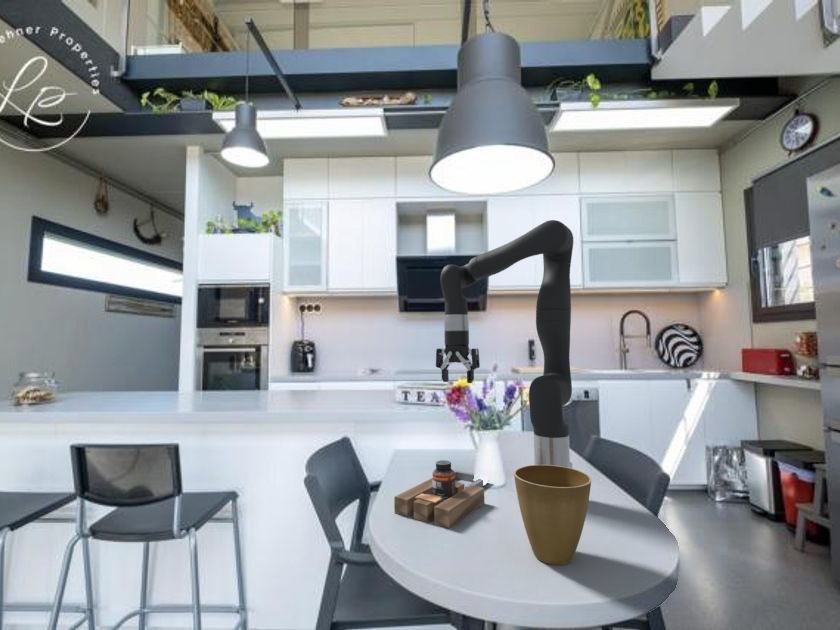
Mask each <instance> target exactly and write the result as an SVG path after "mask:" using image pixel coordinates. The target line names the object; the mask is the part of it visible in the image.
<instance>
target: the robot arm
mask: <svg viewBox="0 0 840 630" xmlns="http://www.w3.org/2000/svg"><path fill="white" fill-rule="evenodd" d="M573 250H574V235H573V232H572V231H571V229H570V228H569V227H568V226H567V225H565V224H564V223H563V222H561V221H559V220H555V219H552V220H551V219H550V220H547V221H545V222H543V223H541V224H539V225H537V226H536V227H534V228H533V229H531V230H529V231H528V232H526V233H525V234H523V235H520V236H518V238H515V239H513V240H512V241H509V242H507V243H505V244H504V245H501V246H498V247H496V248H494V249H492V250H488V251H486V252H484V253H481V254H479V255H476V256H474V257H472V258H471V259H470V260H469V262H468V263H466V264H465V265H462V266H459V265H456V264H447V265H445V266H444V267H443V268H442V270H441V273H440V277H439V278H440V286H441V291H442V295H443V299H444V322H443V323H444V326H443V328H444V329H443V330H444V345H445V347H444V348H436V350H435V351H436V353H435V368H439V369H440V370H441V379H442V382H443V383H448V382H449V367H450V365H451V364H453V363H459V364H460V363H461V364H462V365H464V367H465V368H466V383H467V384H472V383H473V381H475V374H474V373H475V370H477V369H479V368H480V367H481V366H480V365H481V364H480V355H479V354H480V352H479V348H477V347H476V348H471V349H470V347H469V344H470V333H469V332H470V328H469V325H470V324H469V323H470V322H469V316H468V311H469V309H468V299H467V297H465V295H464V294H463V289H466V288H468V287H470V286H472V285H474V284H476V283H477V282H479V281H480V280H483V279H487V278H489V277H491V276H493V275H497V274H499V273H502V272H503V271H505V270H507V269H508V268H510V267H511V266H514V265H515V264H516V263H518V262H520V261H522V260H525V259H527V258H531V257H534V256H539V255H542V258H543V259H542V260H543V261H542V262H543V276H542V282H541V284H540V287H539V290H538V295H537V300H536V305H535V308H536V309H535V327H536V332H537V336H538V339H539V342H540V345H541V348H542V349H541V350H542V353H543V362H544V363H543V374H542V375H540V376H538V377H535V378H534V379H533V380H532V381H531V383H530V386H529V388H528V389H529V391H528V403H529V404H528V405H529V406H528V407H529V419H530V422H531V425H532V429H533V449H534V450H533V453H534V455H533V457H534V461H533V462H534V465H555V466H562V467H567V468H572V469H574V468H573V462H571V453H570V450H571V449H570V427H569V424H568V423H567V422H565V420H564V417H563V415H564V414H563V407H564V406H565V405H567V404H568V403H569V401H570V399H571V398H572V393H573V387H572V385H573V384H572V376H571V375H572V374H571V361H570V348H571V324H572V320H571V319H572V307H571V306H572V299H571V297H572V296H571V295H572V294H571V293H572V291H571V274H570V273H571V267H572V266H571V265H572V257H573ZM469 355H470V356H471V358H470V357H469ZM444 356H446V357H445V358H444Z"/></svg>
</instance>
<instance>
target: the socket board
mask: <svg viewBox="0 0 840 630" xmlns="http://www.w3.org/2000/svg"><path fill="white" fill-rule="evenodd" d="M467 486H468V485H467ZM455 493H456V494H455V495H453V496H452V497H450V498H448V499H447V500H445V501H443V502H442V497H441V496H437V495H433V477H432V478H429V479H428V480H425V481H424V482H422V483H420V484H417V485H416V486H413V487H411V488H409V489H407V490H405V491H403V492H401V493H399V494H396V495H395V496H394V501H393V502H394V514H397V515H401V516H404V517H409V516H411V515H413V519H415V520H419V521H421V522H425V523H428V522H431V520H433V519H434V521H433V522H434V523H433V524H434V525H435V526H440V527H442V528H446V529H450V528H451V527H453V526H454V525H456V524H457V523H459V522H460V521H462V520H463V519H465V518H466V517H467V516H469V515H470V514H472V513H473V512H475V510H477V509H479V508H480V507H481V506H483V505H484V504H485V488H484V487H477V486H473V485H470V486H468V487H467V488H465V483H464V482H463V483H462V482H457V481H455Z"/></svg>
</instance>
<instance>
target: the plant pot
mask: <svg viewBox="0 0 840 630" xmlns="http://www.w3.org/2000/svg"><path fill="white" fill-rule="evenodd" d="M572 468H573V467H572ZM572 468H567V467H562V466H555V465H535V464H530V465H524V466H521V467H519V468H516V469H515V470H514V472H513V475H514V476H513V477H514V481H515V489H516V490H515V491H516V495H517V501H518V506H519V511H520V514H521V518H522V522H523V525H524V529H525V533H526V536H527V538H528V541H529V544H530V547H531V549H532V553H533V555H534V557H535V558H536V559H537V560H539V561H541V562H543V563H545V564H548V565H553V566H562V565H568V564H569V563H571V562H572V561H573V559H574V557H575V554H576V551H577V549H578V546H579V542H580V540H581V536H582V532H583V529H584V525H585V521H586V518H587V512H588V508H589V501H590V493H591V485H592V478H591V476H590V475H589V474H587V473H585V472H583V471H582V470H578V469H575V468H573V469H572Z"/></svg>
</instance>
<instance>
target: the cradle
mask: <svg viewBox="0 0 840 630" xmlns="http://www.w3.org/2000/svg"><path fill="white" fill-rule="evenodd" d="M452 470H453V471H454V472H455V480H456V479H457V480H463V481H468V482H472V483H470V484H468V485H466V486H464V489H465V488H467V487H468V486H470V485H473V486H477V487H482V488H484V487H483V480H481V479H478V480H476V481H474V482H473V479H474V474H475V473H473V472H468V471H462V470H457V469H452Z"/></svg>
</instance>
